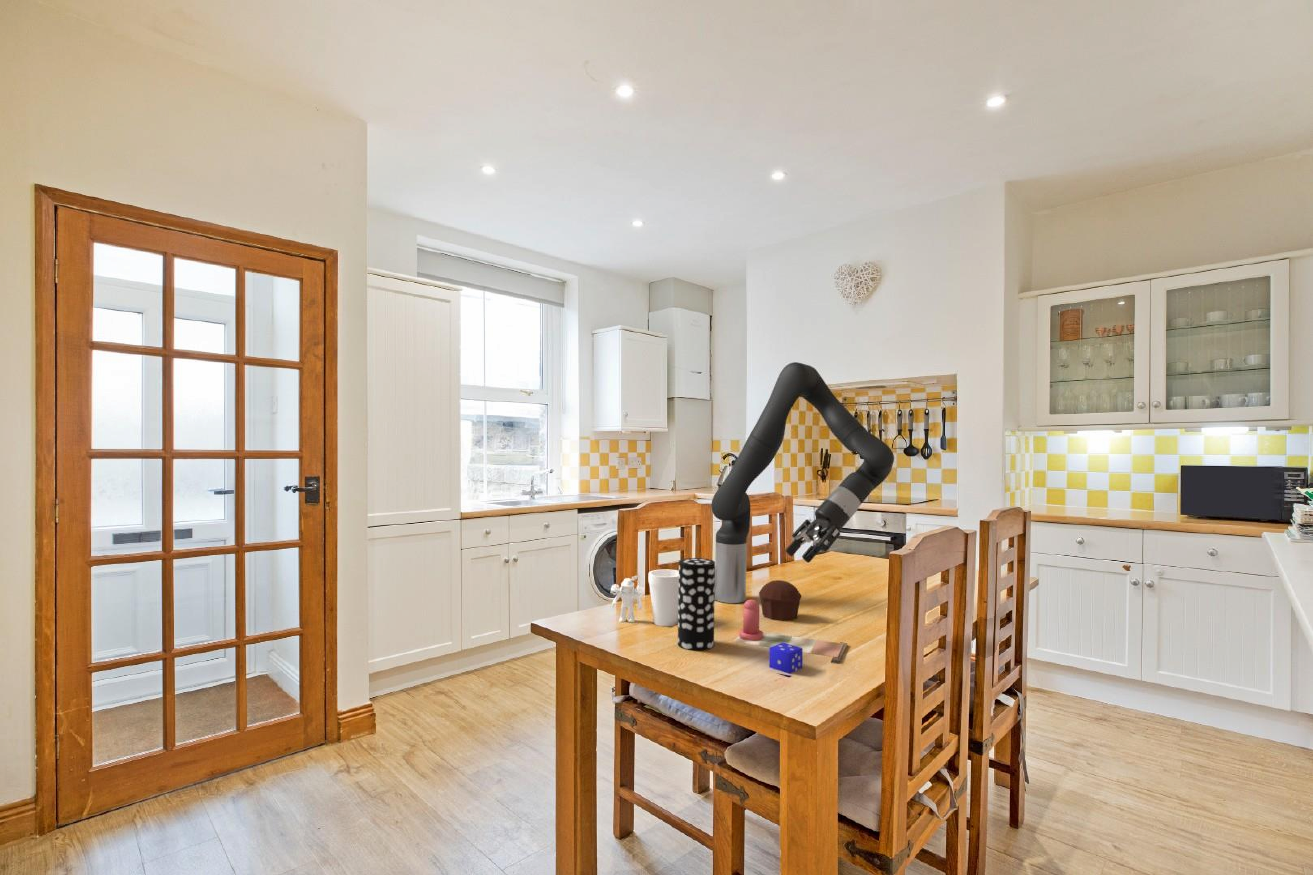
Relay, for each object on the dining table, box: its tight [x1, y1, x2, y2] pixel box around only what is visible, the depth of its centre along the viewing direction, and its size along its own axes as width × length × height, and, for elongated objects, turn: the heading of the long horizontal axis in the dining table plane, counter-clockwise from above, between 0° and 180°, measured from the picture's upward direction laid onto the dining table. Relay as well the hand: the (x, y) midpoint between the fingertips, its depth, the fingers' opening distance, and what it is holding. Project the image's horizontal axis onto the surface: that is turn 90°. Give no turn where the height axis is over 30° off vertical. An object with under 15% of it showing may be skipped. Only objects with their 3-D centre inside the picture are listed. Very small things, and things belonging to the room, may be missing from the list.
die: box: [768, 643, 804, 678], centre depth 132 cm, size 5×5×5 cm
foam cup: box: [648, 568, 679, 627], centre depth 165 cm, size 10×9×13 cm
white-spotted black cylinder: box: [677, 557, 715, 652], centre depth 146 cm, size 8×8×20 cm
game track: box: [732, 631, 848, 664], centre depth 148 cm, size 25×13×1 cm, turn 66°
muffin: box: [758, 579, 802, 622], centre depth 170 cm, size 12×11×10 cm
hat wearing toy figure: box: [610, 574, 645, 623], centre depth 167 cm, size 9×4×12 cm, turn 80°
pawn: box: [738, 599, 764, 641], centre depth 152 cm, size 6×6×9 cm
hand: (796, 556), depth 155 cm, fingers open, 8 cm apart
